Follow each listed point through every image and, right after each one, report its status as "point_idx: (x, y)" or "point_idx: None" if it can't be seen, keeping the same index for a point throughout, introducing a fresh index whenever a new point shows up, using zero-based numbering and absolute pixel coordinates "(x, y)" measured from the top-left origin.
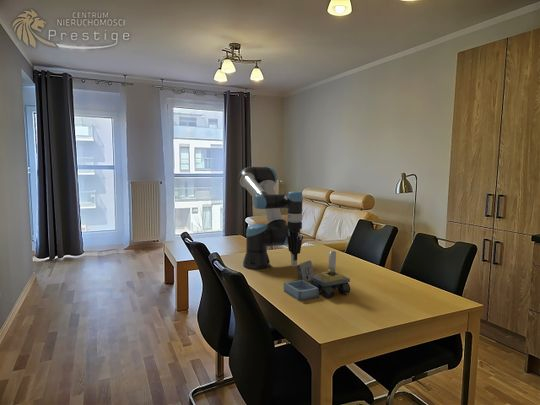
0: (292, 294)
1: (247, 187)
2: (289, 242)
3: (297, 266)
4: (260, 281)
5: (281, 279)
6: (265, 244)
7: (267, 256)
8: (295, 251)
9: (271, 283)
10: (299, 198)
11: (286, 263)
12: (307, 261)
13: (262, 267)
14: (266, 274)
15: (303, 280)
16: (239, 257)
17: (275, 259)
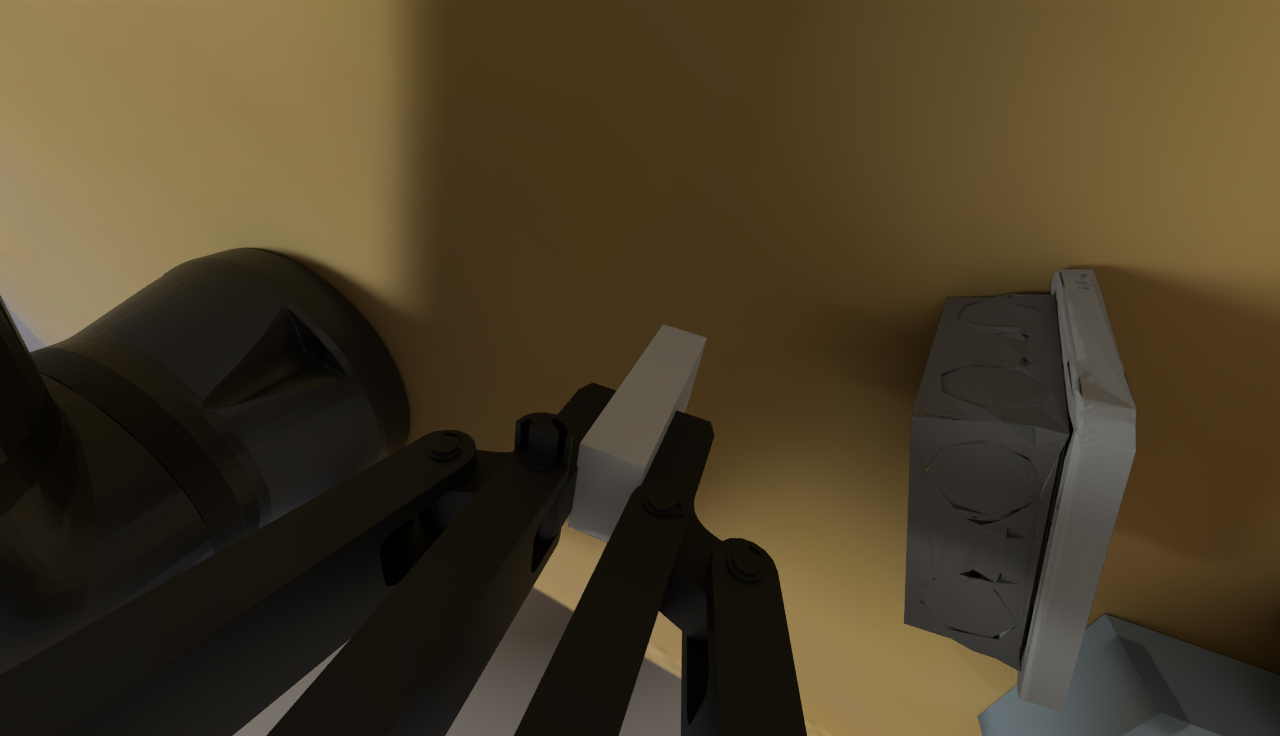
0: None
1: None
2: (260, 699)
3: (932, 622)
4: (668, 627)
5: (746, 525)
6: (79, 531)
7: (243, 365)
8: (701, 666)
9: None
10: None
11: (293, 37)
12: (1095, 549)
13: (399, 418)
14: None
15: (1193, 729)
16: (72, 304)
17: (114, 35)
